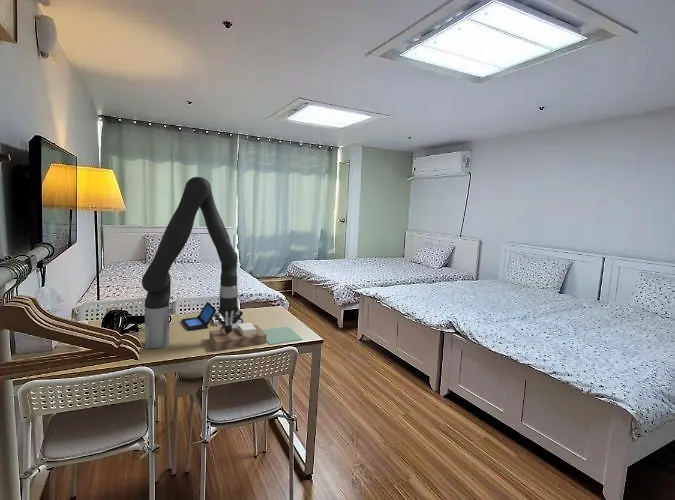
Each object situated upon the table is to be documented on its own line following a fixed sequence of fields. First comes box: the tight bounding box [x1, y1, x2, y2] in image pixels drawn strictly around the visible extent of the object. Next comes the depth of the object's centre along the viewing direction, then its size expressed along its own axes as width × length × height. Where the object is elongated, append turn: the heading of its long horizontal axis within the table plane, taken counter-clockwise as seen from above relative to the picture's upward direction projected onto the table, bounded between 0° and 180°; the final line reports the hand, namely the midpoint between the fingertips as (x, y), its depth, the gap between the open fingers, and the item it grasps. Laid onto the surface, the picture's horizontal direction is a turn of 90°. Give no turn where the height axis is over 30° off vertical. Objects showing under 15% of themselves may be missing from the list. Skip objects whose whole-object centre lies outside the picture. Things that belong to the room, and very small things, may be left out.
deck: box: [208, 324, 267, 352], centre depth 165 cm, size 22×14×4 cm, turn 120°
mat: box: [261, 326, 304, 346], centre depth 175 cm, size 16×18×1 cm
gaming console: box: [222, 317, 244, 329], centre depth 183 cm, size 19×9×2 cm, turn 10°
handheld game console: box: [180, 301, 217, 332], centre depth 184 cm, size 16×13×9 cm
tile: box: [238, 322, 256, 336], centre depth 167 cm, size 6×9×3 cm, turn 30°
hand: (228, 332), depth 163 cm, fingers closed
